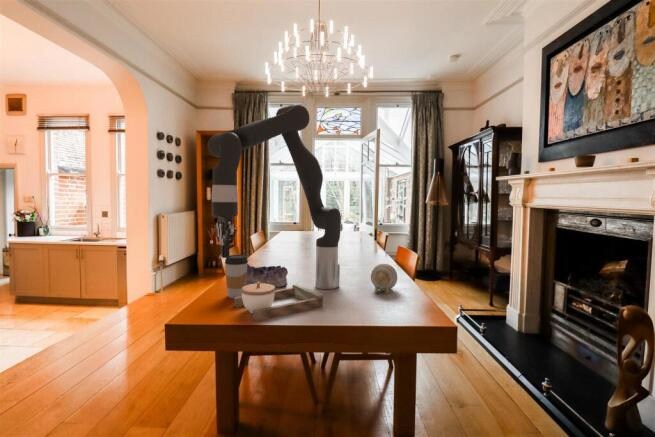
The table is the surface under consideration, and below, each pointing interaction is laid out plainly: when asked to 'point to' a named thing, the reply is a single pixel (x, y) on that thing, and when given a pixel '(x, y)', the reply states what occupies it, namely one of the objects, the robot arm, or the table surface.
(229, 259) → the coffee cup
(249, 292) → the lidded jar
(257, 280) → the geode
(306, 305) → the channel
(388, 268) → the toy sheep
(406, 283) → the table surface
